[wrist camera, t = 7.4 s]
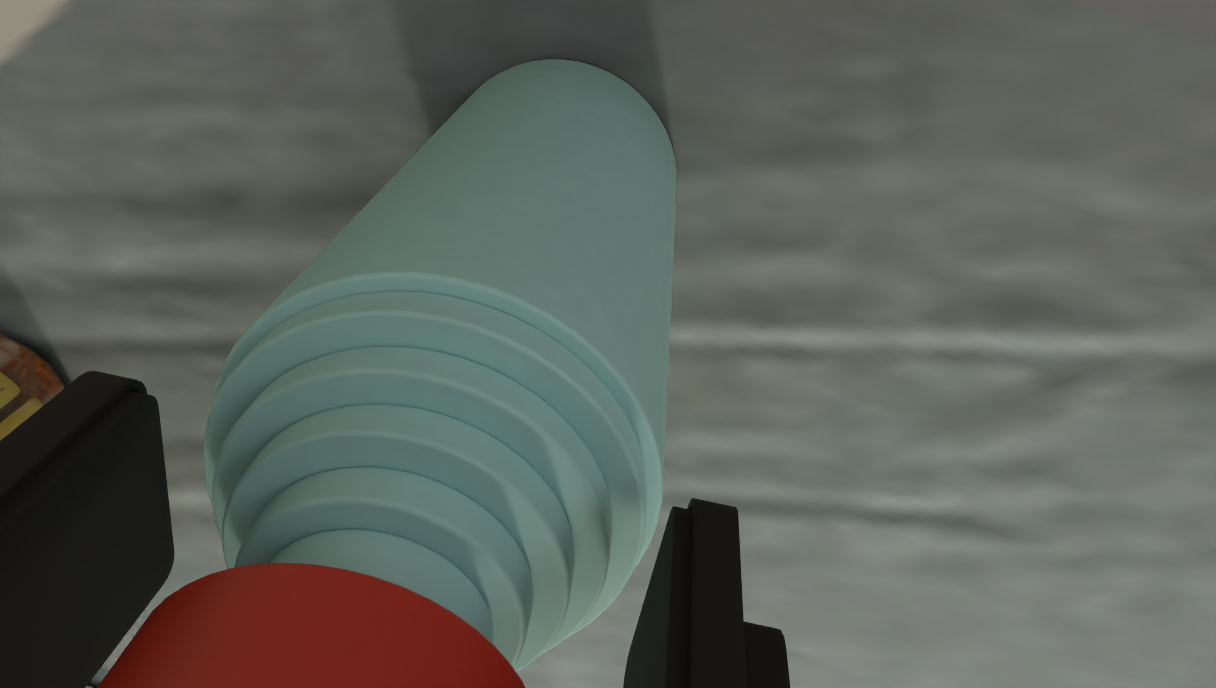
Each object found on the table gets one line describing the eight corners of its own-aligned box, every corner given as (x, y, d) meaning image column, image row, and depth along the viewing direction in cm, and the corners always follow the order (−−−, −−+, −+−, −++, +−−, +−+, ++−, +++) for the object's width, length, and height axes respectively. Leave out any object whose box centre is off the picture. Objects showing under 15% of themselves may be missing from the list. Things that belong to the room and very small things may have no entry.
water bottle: (650, 303, 25) (571, 1161, 9) (436, 260, 25) (-69, 1043, 8) (701, 86, 22) (735, 786, 5) (456, 35, 22) (-306, 585, 5)
